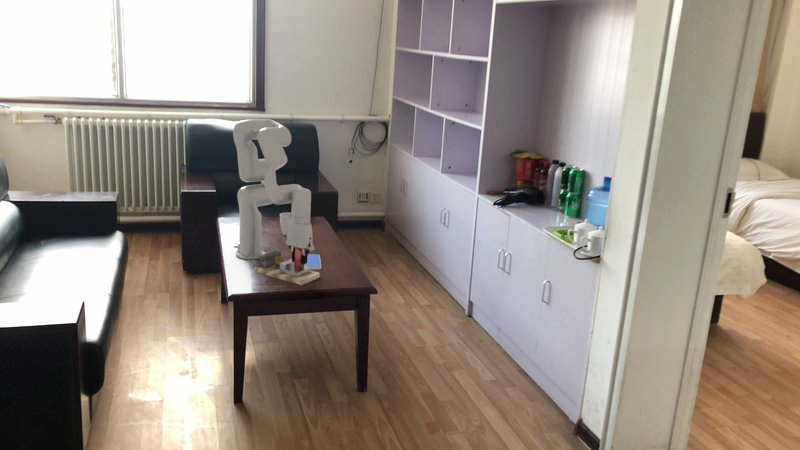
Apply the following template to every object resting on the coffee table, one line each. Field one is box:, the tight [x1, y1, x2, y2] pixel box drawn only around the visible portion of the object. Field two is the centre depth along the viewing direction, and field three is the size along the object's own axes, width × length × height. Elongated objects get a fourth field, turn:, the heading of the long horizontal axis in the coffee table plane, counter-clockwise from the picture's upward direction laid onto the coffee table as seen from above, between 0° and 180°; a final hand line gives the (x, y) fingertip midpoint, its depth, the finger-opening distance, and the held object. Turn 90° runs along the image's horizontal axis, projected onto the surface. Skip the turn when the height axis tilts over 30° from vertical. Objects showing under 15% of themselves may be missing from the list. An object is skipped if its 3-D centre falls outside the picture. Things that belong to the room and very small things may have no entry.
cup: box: [279, 212, 291, 236], centre depth 336 cm, size 8×8×10 cm
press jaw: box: [280, 247, 312, 277], centre depth 277 cm, size 9×9×12 cm
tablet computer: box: [304, 253, 323, 271], centre depth 298 cm, size 19×13×1 cm, turn 9°
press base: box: [256, 250, 321, 286], centre depth 280 cm, size 23×12×7 cm, turn 60°
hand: (299, 262), depth 276 cm, fingers closed on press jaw, 4 cm apart
